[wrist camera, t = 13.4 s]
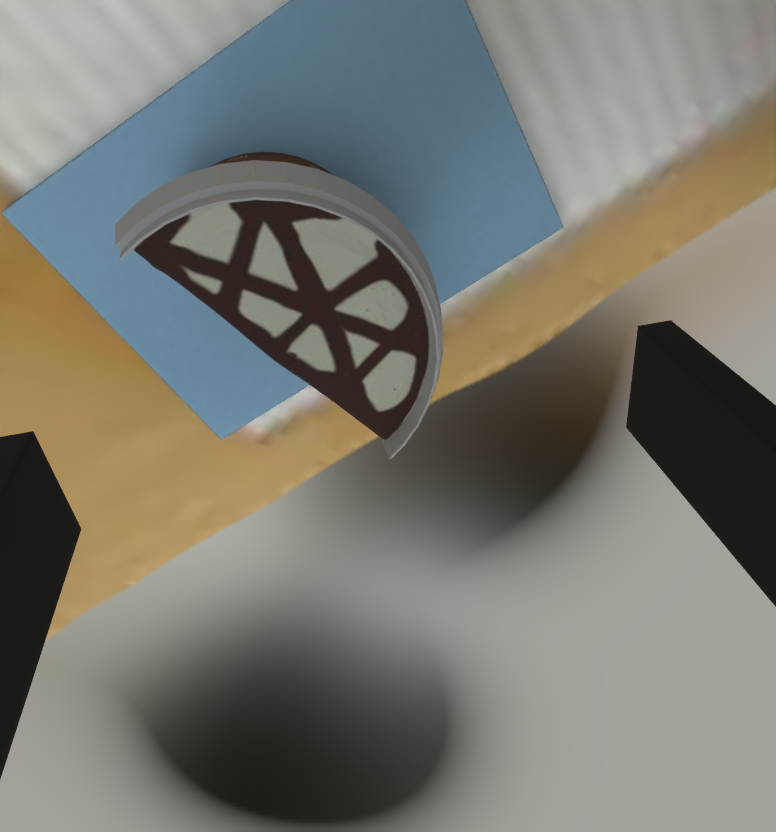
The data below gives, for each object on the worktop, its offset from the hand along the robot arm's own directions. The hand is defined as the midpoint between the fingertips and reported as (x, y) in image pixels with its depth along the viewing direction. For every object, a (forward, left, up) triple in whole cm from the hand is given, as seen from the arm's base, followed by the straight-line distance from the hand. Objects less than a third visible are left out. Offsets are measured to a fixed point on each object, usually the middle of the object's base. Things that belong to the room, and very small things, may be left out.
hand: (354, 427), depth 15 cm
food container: (0, 0, -17) cm, 17 cm away
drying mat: (0, 0, -18) cm, 18 cm away
